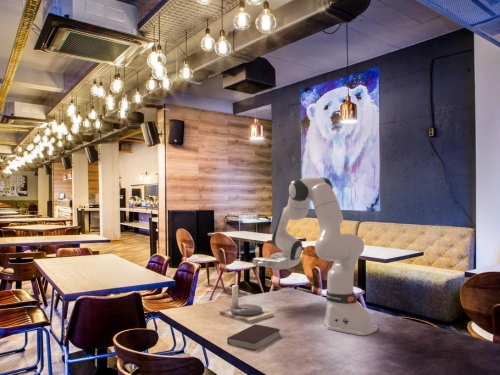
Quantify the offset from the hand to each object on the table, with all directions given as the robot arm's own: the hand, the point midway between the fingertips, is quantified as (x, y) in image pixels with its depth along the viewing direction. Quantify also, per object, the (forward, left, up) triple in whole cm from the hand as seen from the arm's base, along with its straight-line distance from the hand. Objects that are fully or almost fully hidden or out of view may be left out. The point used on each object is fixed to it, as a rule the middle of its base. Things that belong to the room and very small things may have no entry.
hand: (259, 264), depth 197 cm
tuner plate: (-6, +15, -21) cm, 27 cm away
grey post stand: (-5, +15, -19) cm, 25 cm away
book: (-31, +35, -22) cm, 52 cm away
